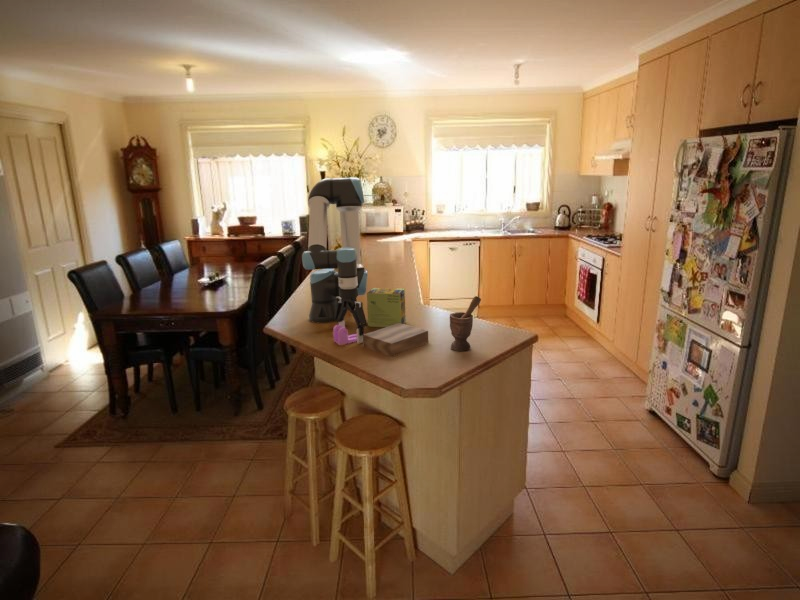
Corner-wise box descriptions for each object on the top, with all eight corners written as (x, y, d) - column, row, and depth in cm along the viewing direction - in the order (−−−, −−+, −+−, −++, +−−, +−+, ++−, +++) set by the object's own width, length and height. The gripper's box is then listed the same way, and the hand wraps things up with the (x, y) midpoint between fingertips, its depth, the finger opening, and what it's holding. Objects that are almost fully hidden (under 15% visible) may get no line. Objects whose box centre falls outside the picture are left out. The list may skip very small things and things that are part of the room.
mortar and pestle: (468, 341, 188) (468, 292, 183) (483, 347, 181) (484, 296, 176) (445, 347, 182) (445, 297, 177) (460, 353, 175) (460, 301, 170)
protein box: (401, 328, 207) (400, 293, 204) (367, 326, 211) (366, 292, 207) (406, 321, 217) (405, 288, 214) (373, 320, 220) (372, 287, 217)
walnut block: (363, 346, 185) (362, 334, 184) (399, 334, 199) (399, 322, 198) (391, 356, 174) (391, 343, 173) (428, 342, 188) (428, 330, 187)
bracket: (340, 345, 188) (339, 329, 186) (333, 342, 192) (332, 325, 191) (368, 339, 195) (367, 322, 193) (361, 335, 199) (361, 319, 198)
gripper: (323, 284, 194) (326, 335, 199) (360, 293, 177) (362, 348, 183) (337, 281, 199) (340, 331, 204) (374, 289, 182) (377, 343, 188)
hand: (351, 339), depth 193 cm, fingers open, 11 cm apart
